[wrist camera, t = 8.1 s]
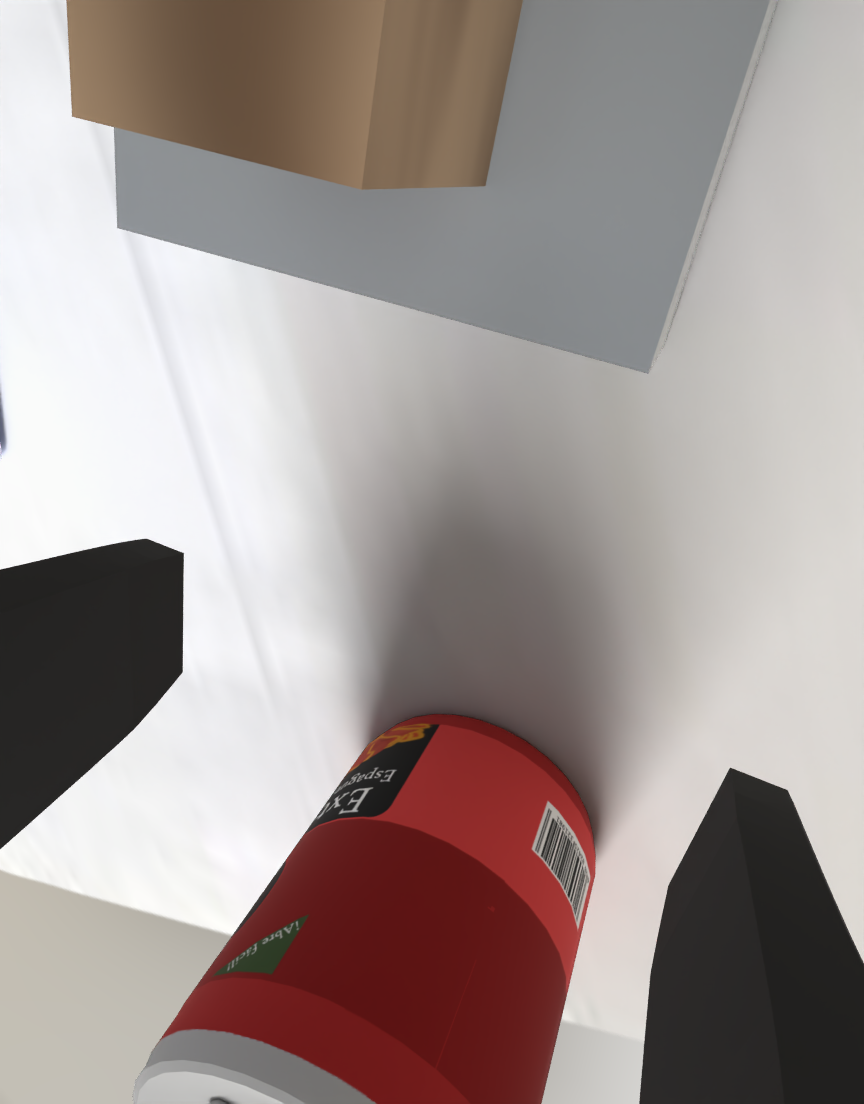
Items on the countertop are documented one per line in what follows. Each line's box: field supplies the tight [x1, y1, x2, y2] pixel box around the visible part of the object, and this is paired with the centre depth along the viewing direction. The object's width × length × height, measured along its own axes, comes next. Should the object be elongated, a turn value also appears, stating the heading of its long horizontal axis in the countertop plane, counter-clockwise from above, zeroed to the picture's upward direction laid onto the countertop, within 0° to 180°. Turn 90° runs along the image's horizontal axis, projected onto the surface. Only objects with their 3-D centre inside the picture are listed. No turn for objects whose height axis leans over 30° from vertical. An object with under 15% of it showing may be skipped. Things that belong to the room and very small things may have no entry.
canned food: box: [133, 714, 595, 1104], centre depth 19 cm, size 8×8×11 cm
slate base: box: [114, 0, 778, 373], centre depth 14 cm, size 12×10×2 cm
